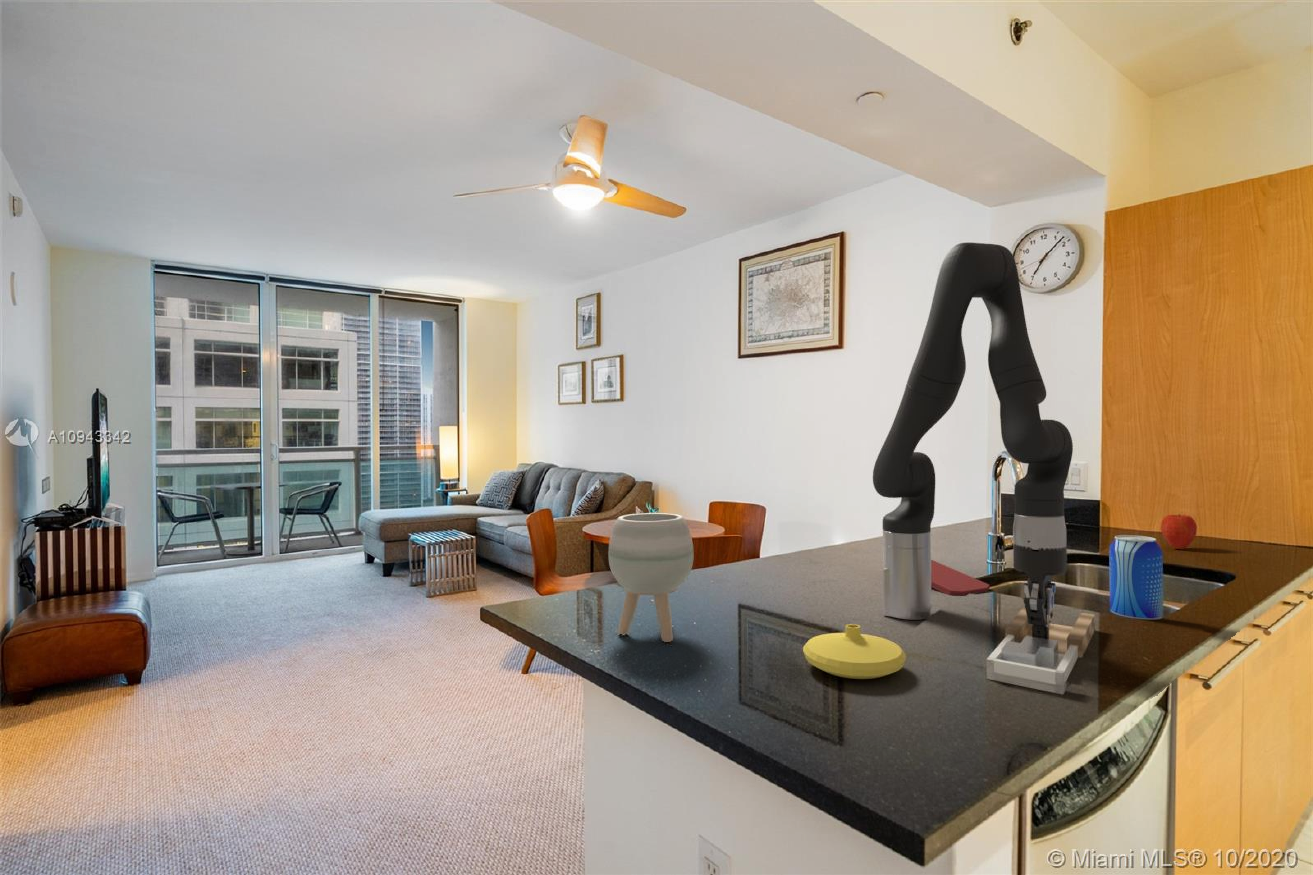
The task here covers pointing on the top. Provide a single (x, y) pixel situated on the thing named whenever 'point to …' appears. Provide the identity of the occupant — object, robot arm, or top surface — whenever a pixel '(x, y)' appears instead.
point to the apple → (1179, 530)
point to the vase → (854, 654)
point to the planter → (650, 562)
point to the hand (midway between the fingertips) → (1040, 648)
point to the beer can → (1136, 577)
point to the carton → (954, 581)
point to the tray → (1032, 670)
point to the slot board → (1056, 632)
